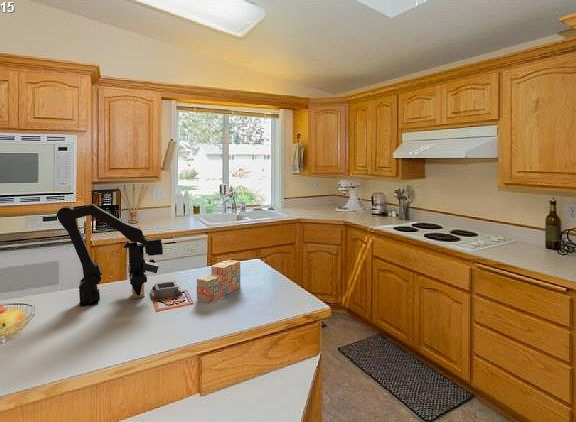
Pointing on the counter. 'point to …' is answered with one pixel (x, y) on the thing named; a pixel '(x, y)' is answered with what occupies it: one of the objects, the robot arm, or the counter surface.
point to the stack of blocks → (219, 281)
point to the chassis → (165, 290)
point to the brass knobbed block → (140, 293)
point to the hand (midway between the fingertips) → (138, 293)
